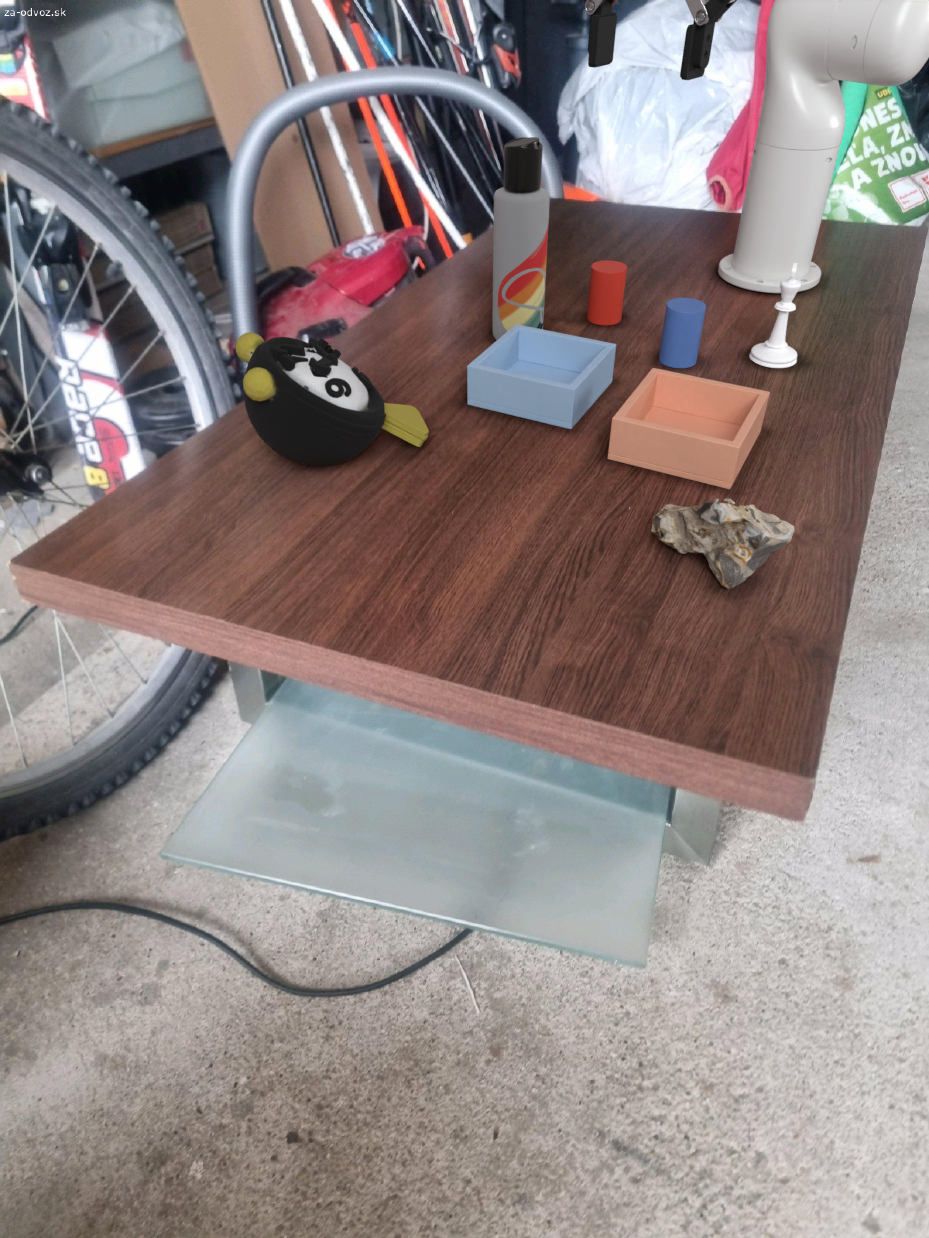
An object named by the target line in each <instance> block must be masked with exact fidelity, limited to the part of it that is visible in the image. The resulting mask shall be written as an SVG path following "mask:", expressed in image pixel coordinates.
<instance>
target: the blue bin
mask: <svg viewBox="0 0 929 1238" xmlns="http://www.w3.org/2000/svg"><path fill="white" fill-rule="evenodd" d="M616 351H617V344H616V343H614V342H613V343H612V342H607V341H603V340H598V339H593V338H587V337H582V336H578V335H573V334H567V333H563V332H559V331H558V332H557V331H553V330H547V329H544V328H543V329H538V328H533V327H528V326H523V325H518V324H516V325H514V326H513V327H512V328H511V329H510V330H508V331H507V332H506V333H505V334H504V335H503V336H501V337H500V338H499V339H498V340H496V341H494V342H493V343H492V344H491V345H489V346H488V347H487V348H486V349H485V350H483V352H481V353H480V354H479V355H478V356H476V358H474V359H473V360H472V361H471V362H470V363H469V364H467V366H466V384H467V385H466V386H467V388H466V389H467V390H466V393H467V396H466V397H467V398H466V399H467V404H466V405H468V406H471V407H476V408H481V409H484V410H489V411H493V412H496V413H501V414H506V415H510V416H514V417H518V418H522V419H526V420H530V421H533V422H534V421H535V422H539V423H541V424H542V423H543V424H547V425H551V426H556V427H559V428H563V429H568V430H573V428H574V427H575V426H576V425H577V424H578V422H579V421H580V420H581V419H582V417H584V416H585V415H586V413H587V412H588V411H589V409H590V408H592V406H593V405H594V404H595V403H596V402H597V400H598V399H599V398H600V397H601V396H602V394H603V393H604V392H605V391H606V390H607V389H608V388H609V386H610V385H611V384H612V383H613V377H614V368H615V360H616Z"/></svg>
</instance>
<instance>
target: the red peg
mask: <svg viewBox="0 0 929 1238" xmlns="http://www.w3.org/2000/svg"><path fill="white" fill-rule="evenodd" d="M627 272H628V266H627V265H626V264H625V263H623V262H620V261H617V260H611V259H610V260H599V261H595V262H593V263H592V264H591V266H590V277H589V289H588V301H587V310H586V311H587V312H586V320H587V321H588V322H589V323H591V324H593V325H598V326H613V325H617V324H619V323H621V321H622V317H623V307H624V299H625V289H626V281H627Z"/></svg>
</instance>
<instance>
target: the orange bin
mask: <svg viewBox="0 0 929 1238" xmlns="http://www.w3.org/2000/svg"><path fill="white" fill-rule="evenodd" d="M770 395H771V392H770V391H768V390H763V389H759V388H753V387H748V386H744V385H739V384H734V383H728V382H723V381H719V380H714V379H709V378H704V377H700V376H694V375H689V374H686V373H681V372H675V371H671V370H665V369H662V368H655V367H652V368H651V369H650V371H649V372H648V373H646V376H644V378H643V379H642V381H640V382H639V384H638V386H637V387H636V388H635V389H634V391H632V393H631V394H629V397H628V398H626V400H625V402H624V403H623V404H622V405H621V407H620V408H618V410H617V412H615V414H614V415H613V417H612V418H611V424H610V425H611V426H610V433H609V442H608V450H607V460H610V461H614V462H619V463H622V464H625V465H626V464H627V465H629V466H634V467H638V468H642V469H645V470H650V471H653V472H658V473H662V474H665V475H669V476H673V477H678V478H681V479H685V480H690V481H694V482H699V483H702V484H706V485H710V486H715V487H718V488H722V489H726V490H731V488H732V487H733V485H734V483H735V481H736V479H737V477H738V475H739V473H740V471H741V469H742V468H743V466H744V464H745V462H746V460H747V459H748V456H749V454H750V452H751V451H752V449H753V447H754V445H755V443H756V441H757V439H758V437H759V436H760V434H761V431H762V426H763V423H764V419H765V416H766V411H767V408H768V403H769V399H770Z"/></svg>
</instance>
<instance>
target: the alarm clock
mask: <svg viewBox="0 0 929 1238" xmlns="http://www.w3.org/2000/svg"><path fill="white" fill-rule="evenodd" d="M235 353H236V355H237V357H238V358H239V359H240V360H241V361H242V362H244V363H245V364H247V366H246V369H245V372H244V377H243V379H242V386H243V389H242V390H243V391H242V393H243V401H244V407H245V411H246V413H247V416H248V419H249V421H250V423H251V425H252V428H253V429H254V431H255V432H256V434H257V435H258V436H259V438H260V439H261V440H262V441H263V442H264V444H266V445H267V446H268V447H269V448H271V449H272V451H274V452H275V453H277V454H278V455H279V456H281V457H283V458H285V459H287V460H290V461H292V462H293V463H298V464H301V465H306V466H311V467H327V466H328V467H329V466H334V465H335V466H336V465H338V464H339V465H340V464H342V463H345V462H347V461H350V460H352V459H354V458H356V457H357V456H358V455H360V454H362V453H363V452H364V451H365V450H367V449H368V448H369V446H370V445H371V444H372V443H373V442H374V441H375V439H376V438H377V437H378V435H379V433H381V430H382V429H383V430H385V431H386V432H388V433H390V434H391V435H393V436H396V437H398V438H400V439H402V440H403V441H405V442H407V443H409V444H411V445H413V446H414V447H418V448H421V447H422V445H423V444H424V442H426V441H427V439H428V437H429V432H430V431H429V428H428V425H427V424H426V422H425V419H424V418H423V416H422V414H421V412H420V411H419V410H418V409H417V408H416V407H415V406H413V405H410V404H401V403H390V402H385V401H384V399H383V397H382V395H381V393H380V392H379V391H378V389H377V388H376V386H374V385H373V382H372V381H371V379H370V378H369V377H368V376H367V375H366V374H365V373H364V372H363V371H360V372H359V368H358V367H356V366H353V367H351V366H349V365H348V364H347V363H345V362H344V361H343V360H341V359H340V357H341V355H342V353H341V351H340V350H339V349H337V348H335V349H334V348H332V345H330V343H329V342H328V341H326V340H325V339H323V338H319V339H318V340H317V339H316V338H313V337H311V336H310V337H309V339H308V342H307V341H304V340H301V339H297V338H294V337H289V336H275V337H272V338H270V339H267V340H266V341H265V340H264V338H263V337H262V336H261V335H259V334H257V333H256V332H250V331H249V332H245V333H243V334H241V335H240V336H239V337H238V338H237V340H236V342H235Z"/></svg>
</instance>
